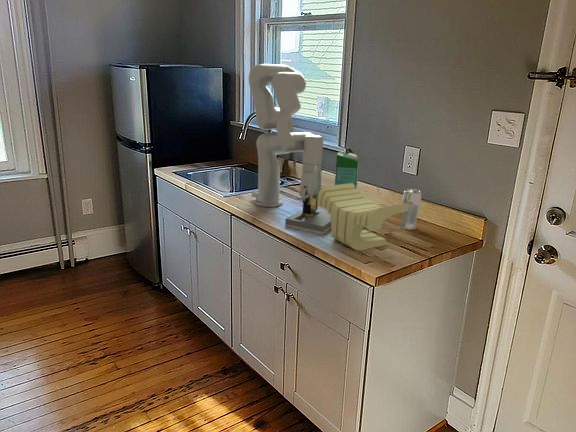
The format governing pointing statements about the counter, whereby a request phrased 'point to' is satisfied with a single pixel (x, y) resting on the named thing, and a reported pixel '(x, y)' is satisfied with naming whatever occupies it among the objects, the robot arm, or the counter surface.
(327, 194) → the slatted curved stool
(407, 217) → the beer glass
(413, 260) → the counter surface
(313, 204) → the peg
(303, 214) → the board
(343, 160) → the milk carton
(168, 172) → the counter surface
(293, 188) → the counter surface
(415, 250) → the counter surface
